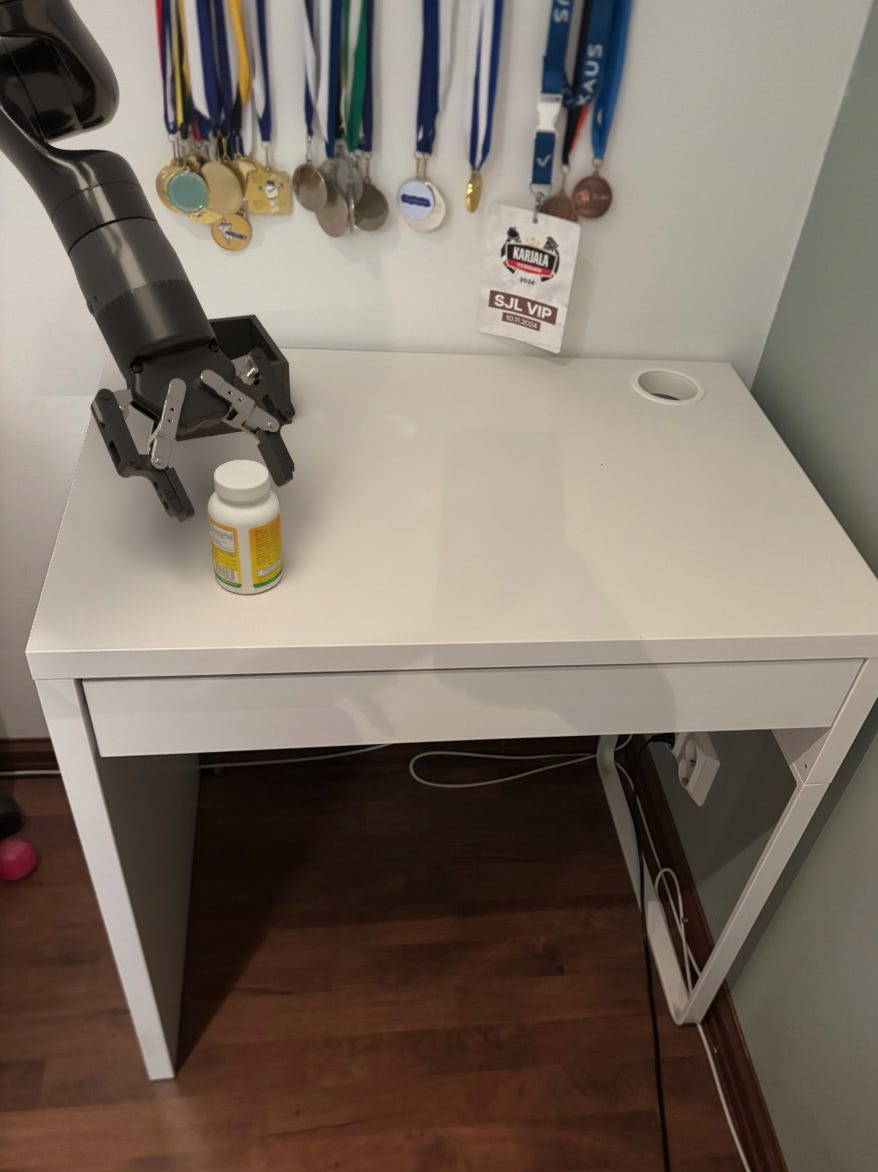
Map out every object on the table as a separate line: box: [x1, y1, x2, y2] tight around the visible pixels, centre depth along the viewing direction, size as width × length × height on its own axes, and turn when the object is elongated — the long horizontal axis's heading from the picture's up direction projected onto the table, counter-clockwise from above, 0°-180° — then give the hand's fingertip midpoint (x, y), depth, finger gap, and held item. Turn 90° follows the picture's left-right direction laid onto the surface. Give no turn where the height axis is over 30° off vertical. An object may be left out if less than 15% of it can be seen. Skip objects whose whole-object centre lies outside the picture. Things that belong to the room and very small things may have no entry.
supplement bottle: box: [207, 459, 284, 595], centre depth 74 cm, size 5×5×10 cm
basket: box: [174, 313, 293, 441], centre depth 95 cm, size 11×11×6 cm
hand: (238, 500), depth 73 cm, fingers open, 8 cm apart
